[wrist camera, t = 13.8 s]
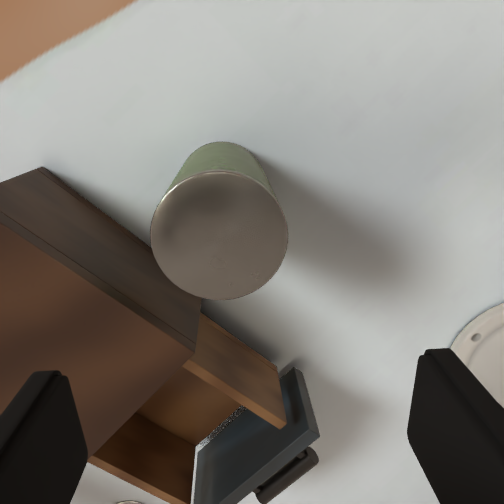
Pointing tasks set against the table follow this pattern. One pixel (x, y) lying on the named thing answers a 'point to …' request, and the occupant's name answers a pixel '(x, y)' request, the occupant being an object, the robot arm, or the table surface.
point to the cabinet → (85, 305)
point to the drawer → (209, 418)
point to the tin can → (219, 225)
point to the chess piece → (129, 502)
